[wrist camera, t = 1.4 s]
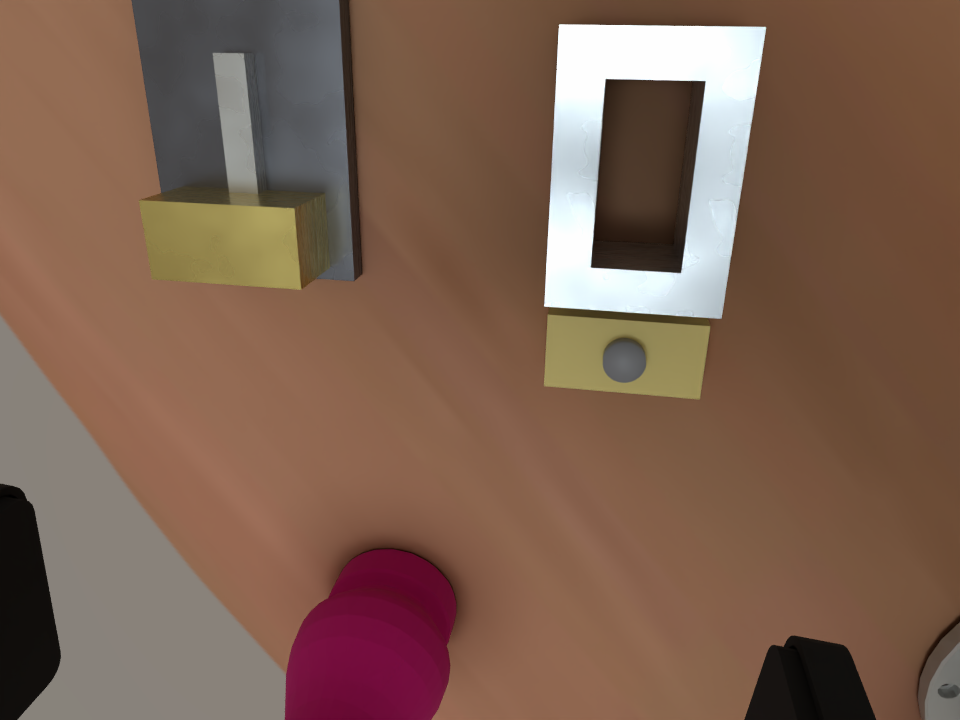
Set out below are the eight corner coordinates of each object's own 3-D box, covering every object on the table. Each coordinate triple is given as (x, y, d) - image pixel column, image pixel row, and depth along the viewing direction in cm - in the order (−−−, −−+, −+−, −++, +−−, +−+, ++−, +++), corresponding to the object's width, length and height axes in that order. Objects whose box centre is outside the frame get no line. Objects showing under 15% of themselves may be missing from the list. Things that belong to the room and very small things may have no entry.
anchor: (704, 308, 29) (712, 331, 26) (694, 378, 30) (701, 406, 28) (551, 298, 30) (546, 319, 27) (548, 366, 31) (542, 392, 29)
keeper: (331, -345, 23) (260, -442, 18) (362, 274, 31) (317, 313, 26) (99, -329, 24) (-22, -417, 20) (185, 262, 32) (114, 297, 27)
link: (744, 30, 25) (766, 26, 21) (708, 284, 28) (721, 318, 25) (567, 27, 26) (559, 24, 22) (553, 274, 29) (544, 306, 26)
